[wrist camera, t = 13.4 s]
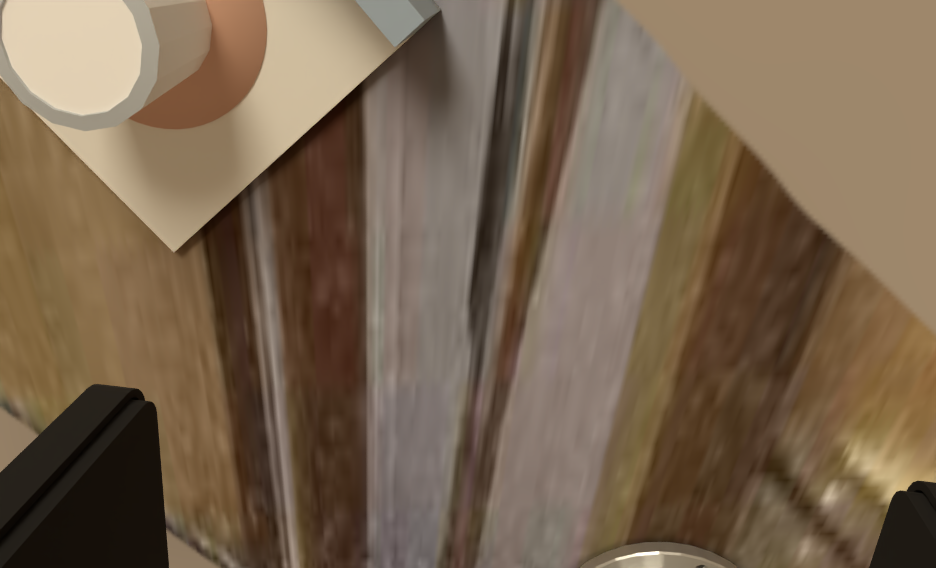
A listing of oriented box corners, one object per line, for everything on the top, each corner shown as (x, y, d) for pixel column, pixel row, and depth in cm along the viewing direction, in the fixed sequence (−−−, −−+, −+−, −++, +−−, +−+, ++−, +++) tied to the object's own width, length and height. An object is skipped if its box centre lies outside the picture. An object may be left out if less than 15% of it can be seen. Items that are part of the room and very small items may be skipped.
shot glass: (138, -95, 36) (48, -100, 30) (256, 27, 38) (195, 46, 32) (49, 18, 39) (-53, 36, 32) (163, 129, 40) (88, 167, 34)
